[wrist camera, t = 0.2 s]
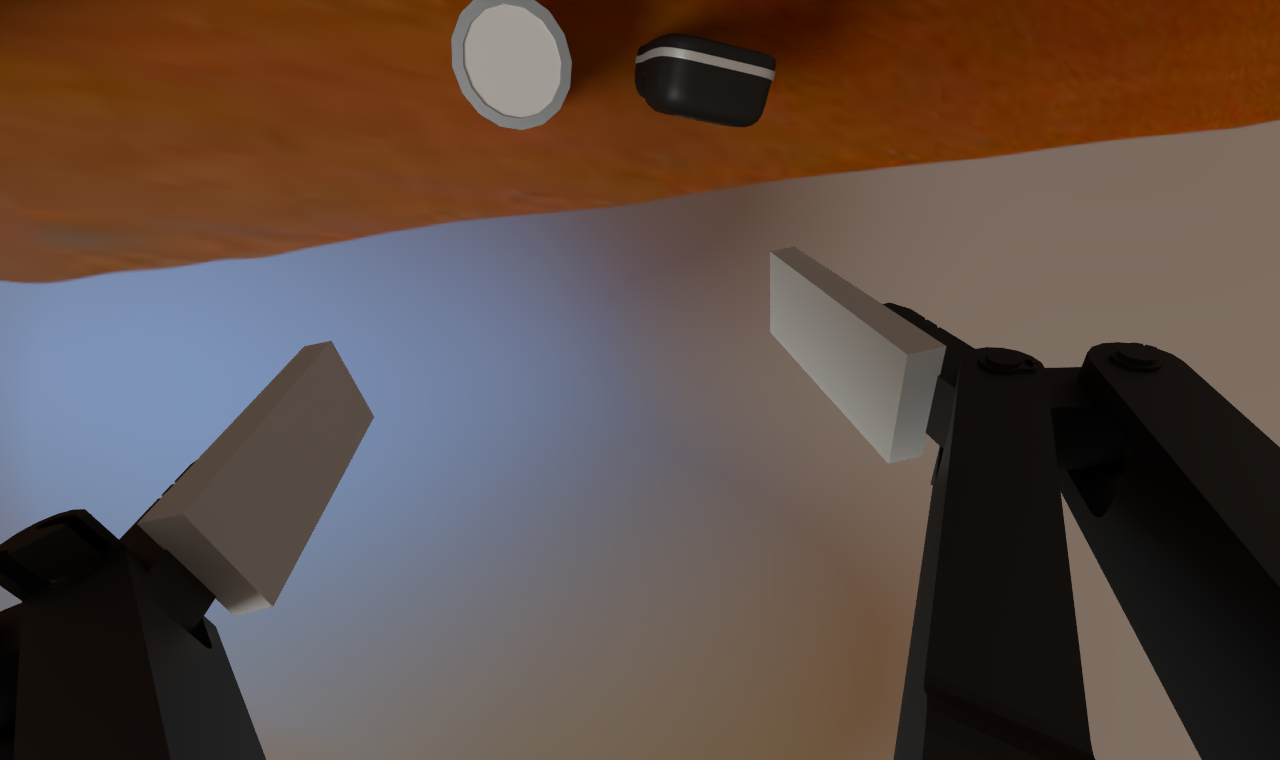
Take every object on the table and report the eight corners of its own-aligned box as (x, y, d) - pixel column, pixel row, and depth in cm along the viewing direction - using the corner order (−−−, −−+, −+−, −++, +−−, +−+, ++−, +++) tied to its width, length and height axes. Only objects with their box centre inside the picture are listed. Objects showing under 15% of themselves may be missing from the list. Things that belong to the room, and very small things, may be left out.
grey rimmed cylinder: (562, 5, 33) (564, -13, 27) (573, 120, 36) (578, 126, 30) (457, 8, 32) (436, -10, 26) (479, 125, 35) (465, 133, 29)
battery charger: (626, 105, 36) (653, 112, 27) (634, 45, 34) (668, 28, 25) (713, 123, 38) (769, 135, 28) (726, 66, 36) (790, 58, 26)
